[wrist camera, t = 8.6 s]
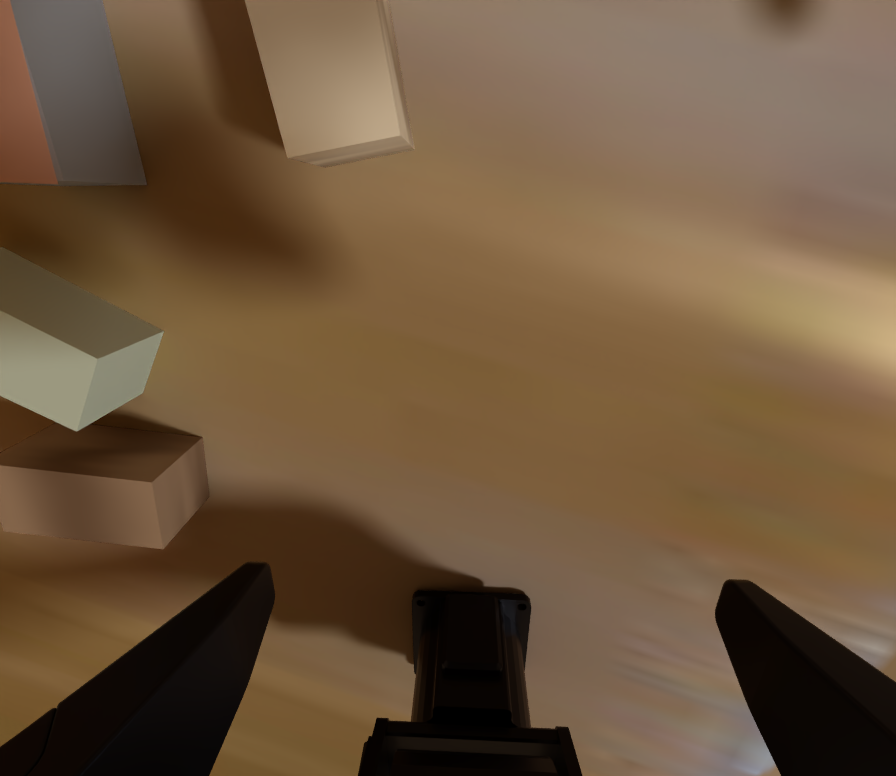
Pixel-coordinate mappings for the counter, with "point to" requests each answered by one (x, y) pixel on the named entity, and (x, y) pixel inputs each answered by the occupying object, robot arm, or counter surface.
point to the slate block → (78, 92)
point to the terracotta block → (19, 113)
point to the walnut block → (103, 484)
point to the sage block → (68, 346)
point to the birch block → (333, 78)
